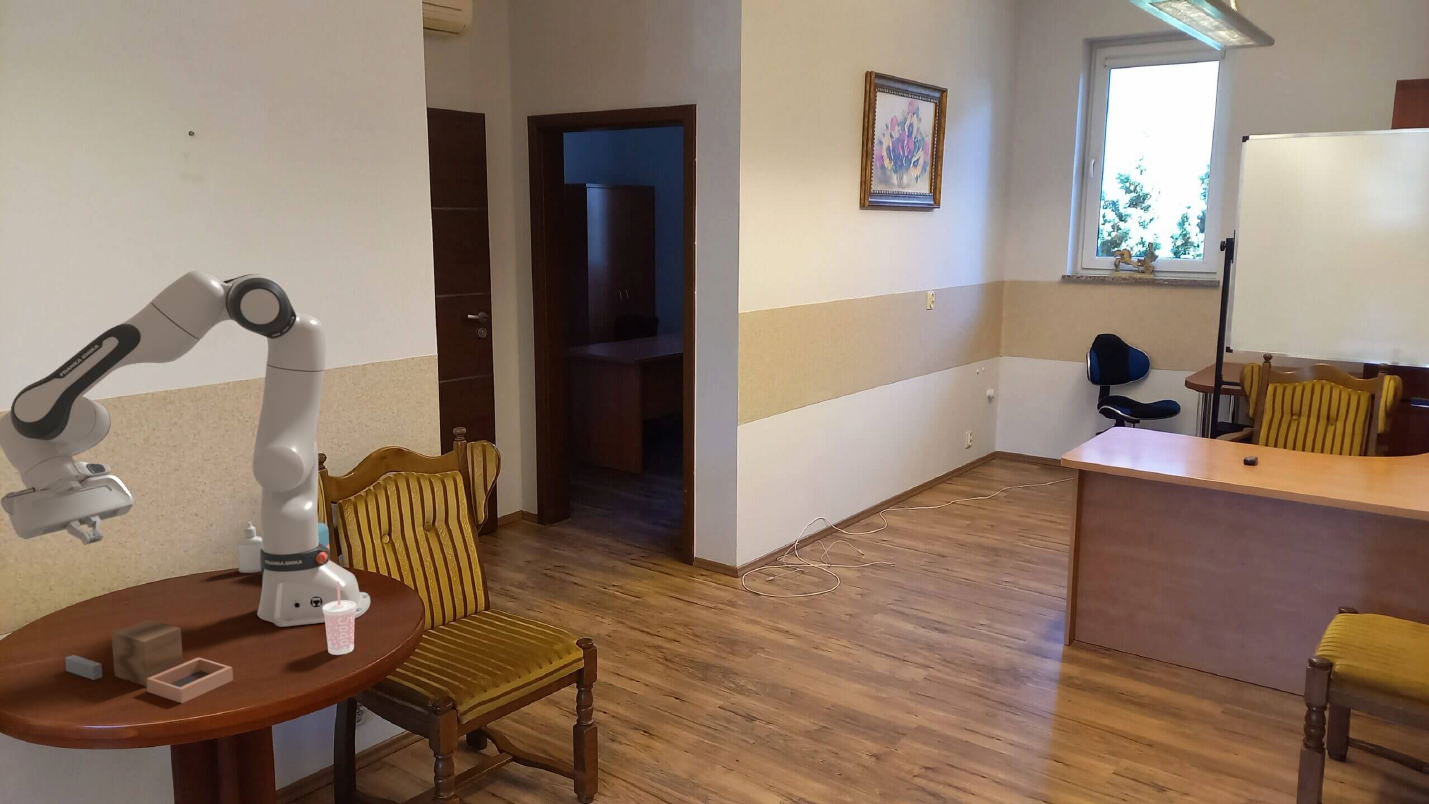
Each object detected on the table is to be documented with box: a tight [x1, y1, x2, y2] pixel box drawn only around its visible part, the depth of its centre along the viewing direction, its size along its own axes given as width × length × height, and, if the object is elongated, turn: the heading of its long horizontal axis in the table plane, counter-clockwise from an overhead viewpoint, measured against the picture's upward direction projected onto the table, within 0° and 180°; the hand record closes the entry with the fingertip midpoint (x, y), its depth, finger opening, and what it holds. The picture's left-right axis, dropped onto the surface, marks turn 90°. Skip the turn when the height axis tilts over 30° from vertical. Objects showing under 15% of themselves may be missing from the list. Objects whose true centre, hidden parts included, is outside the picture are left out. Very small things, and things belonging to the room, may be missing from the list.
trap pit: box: [146, 657, 234, 704], centre depth 172 cm, size 9×10×2 cm
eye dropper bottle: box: [237, 521, 262, 574], centre depth 230 cm, size 4×6×12 cm
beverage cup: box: [322, 581, 356, 656], centre depth 187 cm, size 6×6×14 cm
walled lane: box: [64, 654, 103, 681], centre depth 181 cm, size 8×13×2 cm, turn 155°
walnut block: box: [110, 618, 184, 688], centre depth 176 cm, size 9×7×8 cm
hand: (94, 541), depth 179 cm, fingers closed
